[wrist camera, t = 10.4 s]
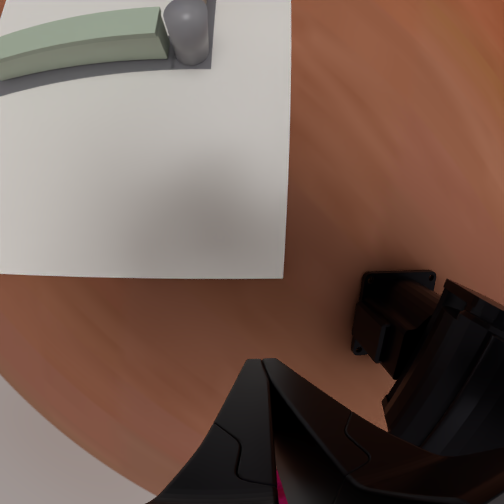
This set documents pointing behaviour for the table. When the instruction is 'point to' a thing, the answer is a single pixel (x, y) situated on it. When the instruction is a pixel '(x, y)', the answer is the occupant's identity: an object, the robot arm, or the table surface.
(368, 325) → the robot arm
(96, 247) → the card
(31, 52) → the hinged panel
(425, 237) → the table surface
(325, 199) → the table surface
